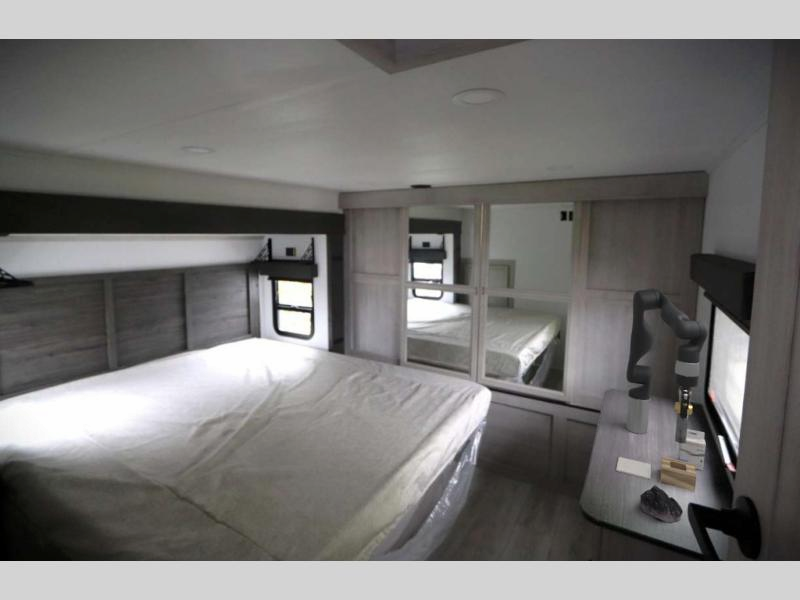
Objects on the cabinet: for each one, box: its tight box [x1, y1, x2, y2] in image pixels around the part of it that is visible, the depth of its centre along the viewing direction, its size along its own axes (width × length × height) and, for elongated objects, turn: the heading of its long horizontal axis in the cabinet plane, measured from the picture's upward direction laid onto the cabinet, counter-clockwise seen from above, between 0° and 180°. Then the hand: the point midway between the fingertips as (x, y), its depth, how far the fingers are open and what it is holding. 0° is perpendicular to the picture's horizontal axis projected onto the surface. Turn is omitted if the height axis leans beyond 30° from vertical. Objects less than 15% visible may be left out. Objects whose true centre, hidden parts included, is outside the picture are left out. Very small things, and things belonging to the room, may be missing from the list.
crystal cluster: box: [639, 484, 684, 523], centre depth 145 cm, size 13×14×10 cm
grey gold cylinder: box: [674, 401, 694, 444], centre depth 161 cm, size 6×6×15 cm
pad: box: [615, 456, 652, 480], centre depth 173 cm, size 12×12×1 cm
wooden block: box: [659, 456, 697, 493], centre depth 163 cm, size 11×11×6 cm
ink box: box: [677, 428, 707, 471], centre depth 173 cm, size 9×5×15 cm, turn 59°
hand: (682, 414), depth 160 cm, fingers closed on grey gold cylinder, 5 cm apart
